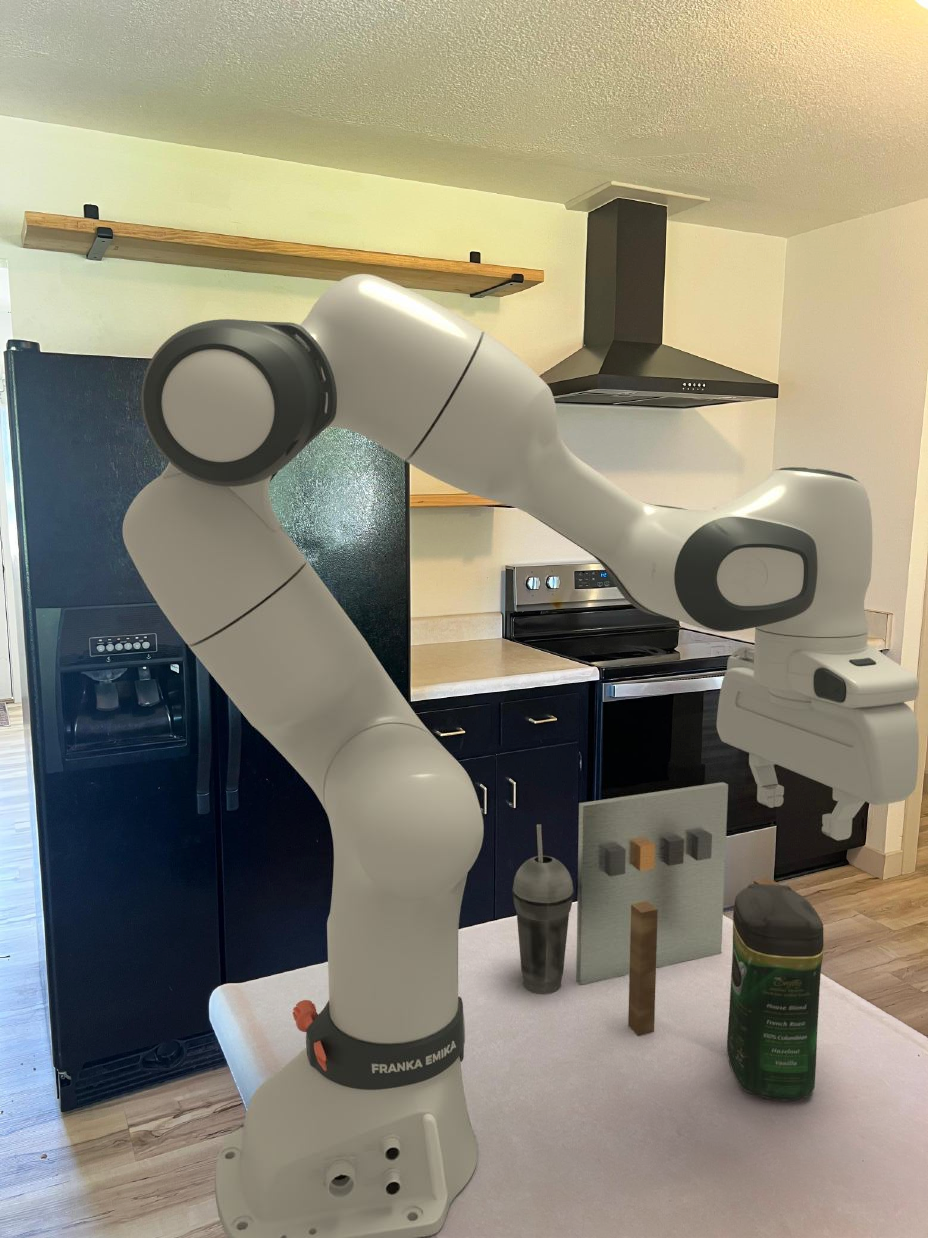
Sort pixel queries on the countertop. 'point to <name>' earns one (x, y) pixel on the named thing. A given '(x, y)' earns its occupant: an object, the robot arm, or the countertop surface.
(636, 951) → the gate
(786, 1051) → the coffee jar
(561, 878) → the beverage cup
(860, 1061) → the countertop surface
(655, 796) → the breaker panel
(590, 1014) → the countertop surface
